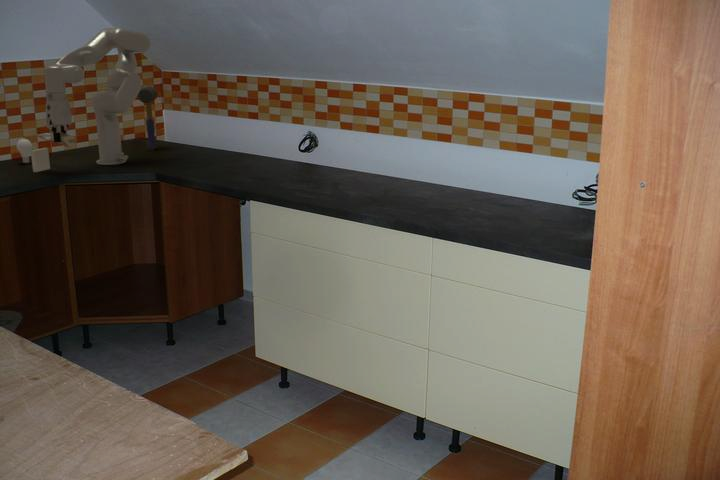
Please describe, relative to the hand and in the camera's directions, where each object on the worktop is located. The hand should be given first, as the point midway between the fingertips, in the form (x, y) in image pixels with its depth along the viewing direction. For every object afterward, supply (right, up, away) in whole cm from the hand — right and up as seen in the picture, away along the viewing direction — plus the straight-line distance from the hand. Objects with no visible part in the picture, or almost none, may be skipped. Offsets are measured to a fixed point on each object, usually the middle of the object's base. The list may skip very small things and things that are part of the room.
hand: (60, 141), depth 336 cm
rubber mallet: (+23, +3, +57) cm, 62 cm away
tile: (-11, -11, +9) cm, 18 cm away
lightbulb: (-24, -7, +24) cm, 35 cm away
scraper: (-2, 0, +1) cm, 2 cm away
